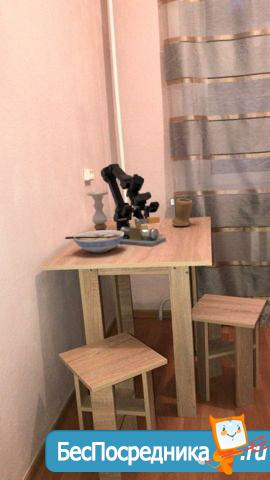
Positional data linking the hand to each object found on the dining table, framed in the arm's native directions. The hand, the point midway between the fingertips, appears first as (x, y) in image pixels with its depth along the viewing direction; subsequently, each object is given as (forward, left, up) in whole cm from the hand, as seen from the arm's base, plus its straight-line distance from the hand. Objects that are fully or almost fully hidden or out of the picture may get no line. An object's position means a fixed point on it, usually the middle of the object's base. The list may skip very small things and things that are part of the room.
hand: (147, 222), depth 202 cm
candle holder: (-25, 0, -9) cm, 26 cm away
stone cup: (+7, +40, -9) cm, 41 cm away
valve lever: (0, -1, 0) cm, 1 cm away
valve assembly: (-3, -4, -9) cm, 10 cm away
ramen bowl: (-16, -22, -9) cm, 29 cm away
